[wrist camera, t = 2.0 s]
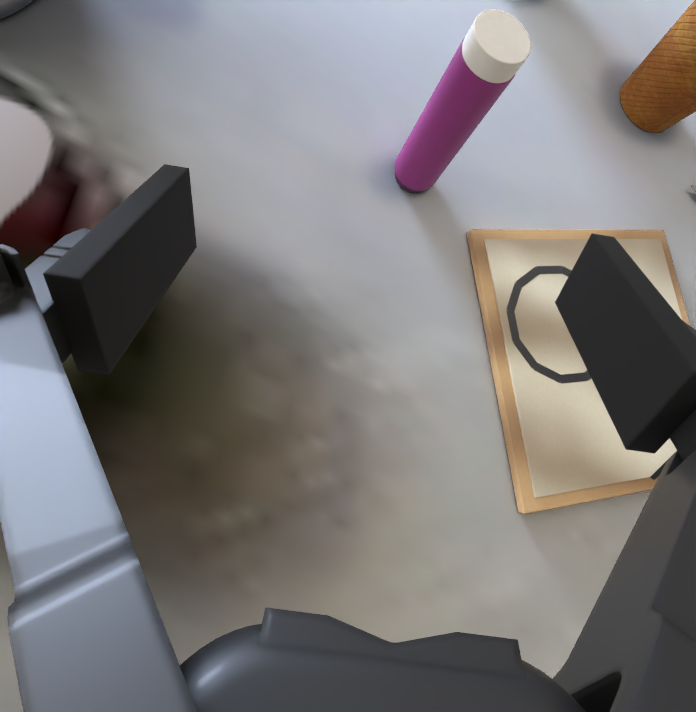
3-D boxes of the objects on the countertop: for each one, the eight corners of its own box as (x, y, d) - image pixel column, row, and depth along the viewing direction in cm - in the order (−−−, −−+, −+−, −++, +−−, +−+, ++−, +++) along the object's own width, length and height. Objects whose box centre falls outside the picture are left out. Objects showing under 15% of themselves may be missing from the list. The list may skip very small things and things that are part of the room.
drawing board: (466, 233, 37) (472, 227, 36) (656, 233, 42) (666, 228, 41) (517, 512, 33) (526, 514, 32) (721, 474, 38) (734, 474, 37)
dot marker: (388, 155, 37) (467, 3, 24) (428, 157, 38) (525, 12, 25) (394, 196, 36) (479, 60, 24) (435, 197, 37) (538, 67, 25)
